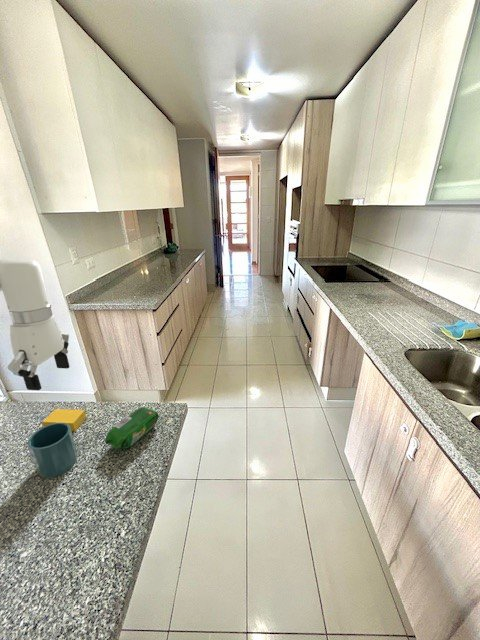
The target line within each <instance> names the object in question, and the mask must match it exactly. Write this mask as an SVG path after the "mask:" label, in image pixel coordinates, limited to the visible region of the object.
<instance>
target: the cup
mask: <svg viewBox="0 0 480 640" xmlns="http://www.w3.org/2000/svg"><path fill="white" fill-rule="evenodd" d="M72 432H73V431H71V429H70V426H69V425H68V424H66V423H54V424H50V425H47V426H45V427H44V426H42V427H41V428H40V429H38V430H36V431H35V432H34V433H33V434H32V435H31V436H29V439H28V440H27V446H28V450H29V452H30V455H31V458H32V460H33V464H34V465H35V469H36V471H37V474H38V475H39V477H41V478H42V479H53V478H56V477H60V476H61V475H63V474H65V473H67V472H68V471H70V470H71V469H72V468H73V467H74V465H76V463H77V461H78V458H79V457H78V455H79V453H78V451H77V447H76V443H75V439H74V437H73V433H72Z"/></svg>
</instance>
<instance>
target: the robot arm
mask: <svg viewBox="0 0 480 640" xmlns="http://www.w3.org/2000/svg"><path fill="white" fill-rule="evenodd" d="M43 275H44V274H43V271H42V267H41V265H40V263H39V262H37V260H34V259H30V258H29V259H28V258H27V259H26V258H25V259H24V258H21V259H20V258H19V259H5V258H4V259H3V258H0V292H2V293H3V297H4V301H5V303H6V306H7V309H8V313H9V316H10V319H11V322H12V324H11V325H10V326H9V337H10V345H11V349H12V354H13V357H14V358H13V359H12V360H11V361H10V362H9V364H8V365H7V369H8V371H10V372H11V373H13V375H14V376H18V377H22V379H23V383H24V384H25V387H26V389H27V390H28V391H41V390H42V384H41V380H40V378H39V375H38V374H36V372H37V368H38V366H39V365H41V364H43V363H44V362H46V361H47V360H49V359H50V358H54V361H55V366H56V368H58V369H69V368H70V363H69V359H68V355H67V354H68V353H69V350H68V347H69V345H70V344H69V337H70V335H69V334H67V333H62V331H61V329H60V326H59V323H58V321H57V319H56V317H55V315H54V314H53V310H52V305H51V304H50V299H49V295H48V292H47V287H46V283H45V279H44V276H43ZM29 367H30V368H29ZM28 368H29V370H28Z"/></svg>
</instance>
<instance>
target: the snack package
mask: <svg viewBox="0 0 480 640" xmlns="http://www.w3.org/2000/svg"><path fill="white" fill-rule="evenodd" d="M159 417H160V415H159V413H158V412H157V411H156V410H154V409H151V408H148V407H144V406H141V407H139V408H137V409H135V410H134V411H133V412H131V413H130V414H129V415H127V416H126V417H124V418H123V419H121V421H119V422H117V424H115V425H113V427H111V429H110V430H109V431H108V433H107V434H106V436H105V440H104V444H106V445H110V446H112V447H113V448H114V449H115V451H114V453H116V454H118V453H119V452H120V451H121V450H122V449H128V448H130V447H132V446H133V445H134V444H136V443H137V442H138V441H139V440H140V439H142V438H143V437H144V436H145V435H146V434H147V433H148V432H149V431H150V430H152V429H153V428H154V427H155V426H156V425H157V423H158V420H159Z"/></svg>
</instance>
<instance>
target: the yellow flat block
mask: <svg viewBox="0 0 480 640" xmlns="http://www.w3.org/2000/svg"><path fill="white" fill-rule="evenodd" d="M86 419H87V414H86V410H85V409H63V408H55V409H54V410H52V412H51V413H49V415H48V416H47V417H46V418H45V419H44V420H42V427H45V426H47V425H50V424H54V423H66V424H68V425H69V426H70V429H71V432H76V431H77V430H78V429H79V428H80V427H81V426H82V424H83V423H84V422H85V421H86Z"/></svg>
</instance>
